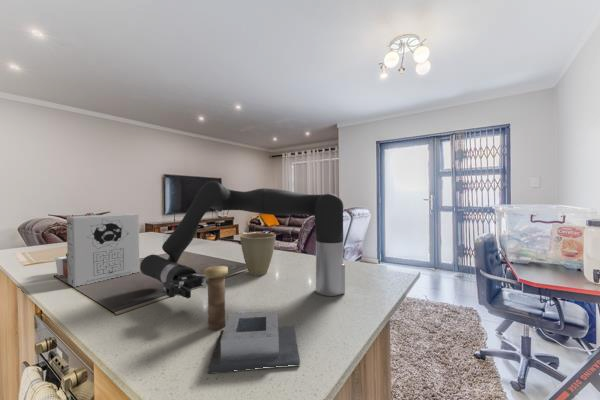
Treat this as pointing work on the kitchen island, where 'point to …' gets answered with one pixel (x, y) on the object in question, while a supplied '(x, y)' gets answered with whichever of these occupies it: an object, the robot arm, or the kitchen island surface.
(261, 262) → the plant pot
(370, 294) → the kitchen island surface
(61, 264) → the shot glass
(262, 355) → the steel receiver
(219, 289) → the walnut pin
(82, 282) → the cereal box
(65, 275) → the lighter
